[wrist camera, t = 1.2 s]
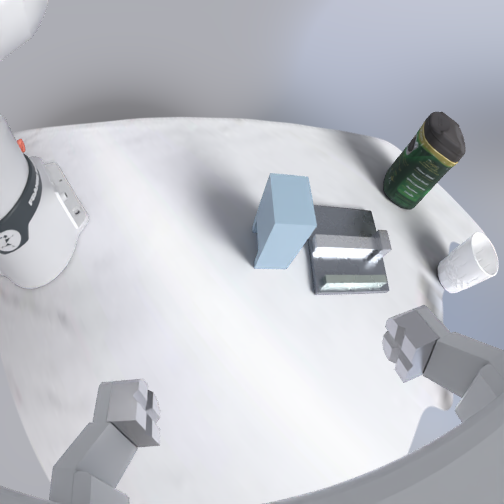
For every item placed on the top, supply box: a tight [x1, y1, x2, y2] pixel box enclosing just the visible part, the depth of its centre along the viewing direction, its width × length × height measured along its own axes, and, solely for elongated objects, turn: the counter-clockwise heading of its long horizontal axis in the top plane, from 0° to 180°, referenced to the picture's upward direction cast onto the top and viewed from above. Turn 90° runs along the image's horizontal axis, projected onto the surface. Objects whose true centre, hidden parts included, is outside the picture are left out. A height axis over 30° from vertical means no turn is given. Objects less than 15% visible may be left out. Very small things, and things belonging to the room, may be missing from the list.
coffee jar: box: [384, 112, 465, 209], centre depth 44 cm, size 10×8×19 cm
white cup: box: [438, 232, 498, 293], centre depth 42 cm, size 8×8×10 cm
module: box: [252, 173, 317, 269], centre depth 37 cm, size 4×7×12 cm, turn 2°
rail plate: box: [308, 205, 392, 295], centre depth 43 cm, size 12×14×4 cm
